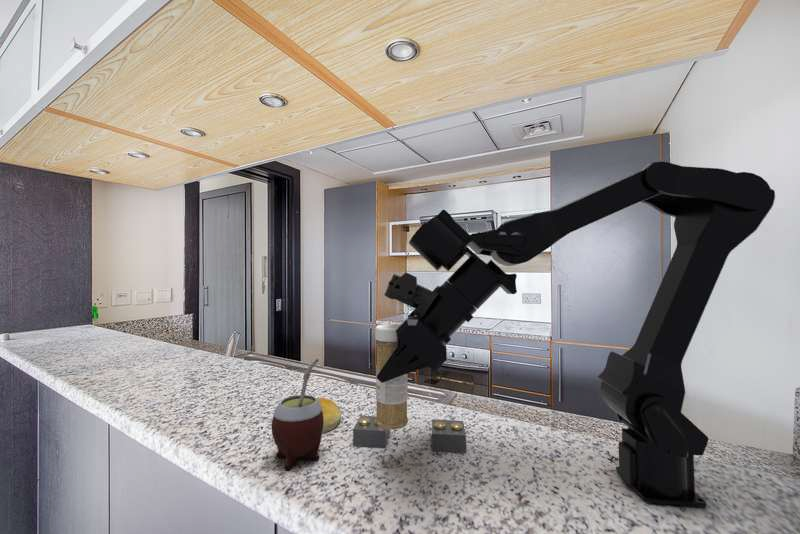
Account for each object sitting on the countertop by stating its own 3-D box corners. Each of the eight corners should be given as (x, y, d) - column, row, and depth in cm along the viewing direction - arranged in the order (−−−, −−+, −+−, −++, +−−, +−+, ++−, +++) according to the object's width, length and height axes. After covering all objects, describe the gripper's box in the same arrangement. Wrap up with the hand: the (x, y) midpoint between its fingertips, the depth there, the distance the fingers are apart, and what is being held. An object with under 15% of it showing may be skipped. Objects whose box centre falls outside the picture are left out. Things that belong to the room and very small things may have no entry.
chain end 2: (463, 436, 52) (463, 418, 52) (466, 452, 47) (465, 432, 47) (432, 434, 53) (432, 416, 53) (431, 450, 48) (431, 430, 48)
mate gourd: (286, 444, 50) (288, 346, 50) (335, 448, 49) (336, 347, 49) (258, 472, 42) (261, 357, 43) (315, 477, 41) (317, 359, 42)
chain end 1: (390, 432, 54) (390, 414, 54) (385, 447, 49) (385, 428, 49) (360, 430, 54) (360, 413, 54) (352, 445, 49) (353, 426, 49)
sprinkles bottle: (375, 417, 46) (375, 323, 47) (406, 416, 47) (406, 322, 47) (375, 432, 42) (375, 327, 42) (410, 430, 42) (410, 327, 43)
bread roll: (282, 436, 53) (282, 411, 53) (303, 414, 61) (304, 393, 62) (331, 439, 52) (331, 413, 52) (346, 415, 61) (346, 394, 61)
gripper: (422, 258, 54) (358, 324, 55) (414, 246, 36) (318, 346, 36) (470, 305, 53) (404, 372, 54) (489, 318, 34) (387, 420, 35)
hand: (382, 374), depth 45 cm, fingers closed on sprinkles bottle, 4 cm apart
